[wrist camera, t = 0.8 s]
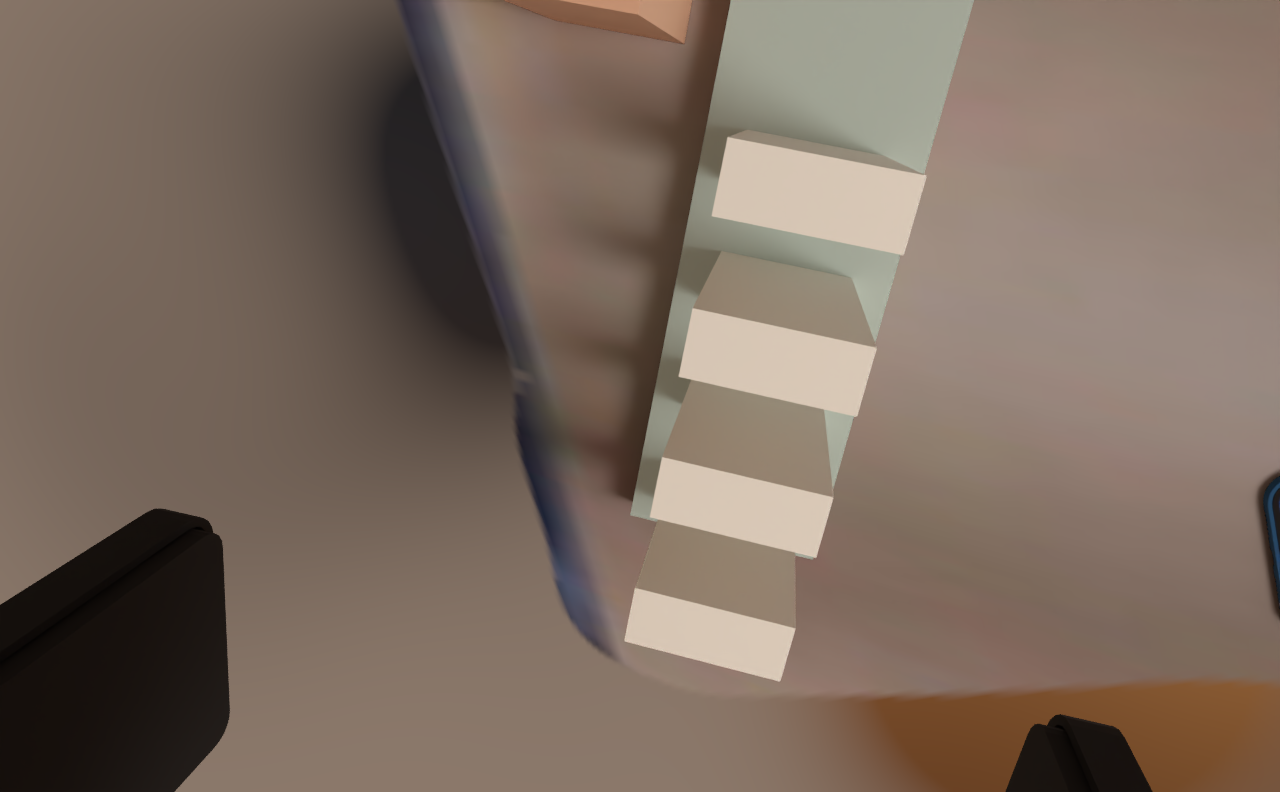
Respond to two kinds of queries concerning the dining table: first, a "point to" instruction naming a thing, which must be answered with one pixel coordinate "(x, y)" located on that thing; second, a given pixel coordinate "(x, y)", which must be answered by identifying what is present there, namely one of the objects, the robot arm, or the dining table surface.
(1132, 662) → the dining table surface
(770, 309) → the domino
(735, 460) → the domino
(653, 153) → the dining table surface
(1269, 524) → the smartphone
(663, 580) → the domino
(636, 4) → the domino
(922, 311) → the dining table surface
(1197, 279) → the dining table surface
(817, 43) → the board
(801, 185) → the domino
